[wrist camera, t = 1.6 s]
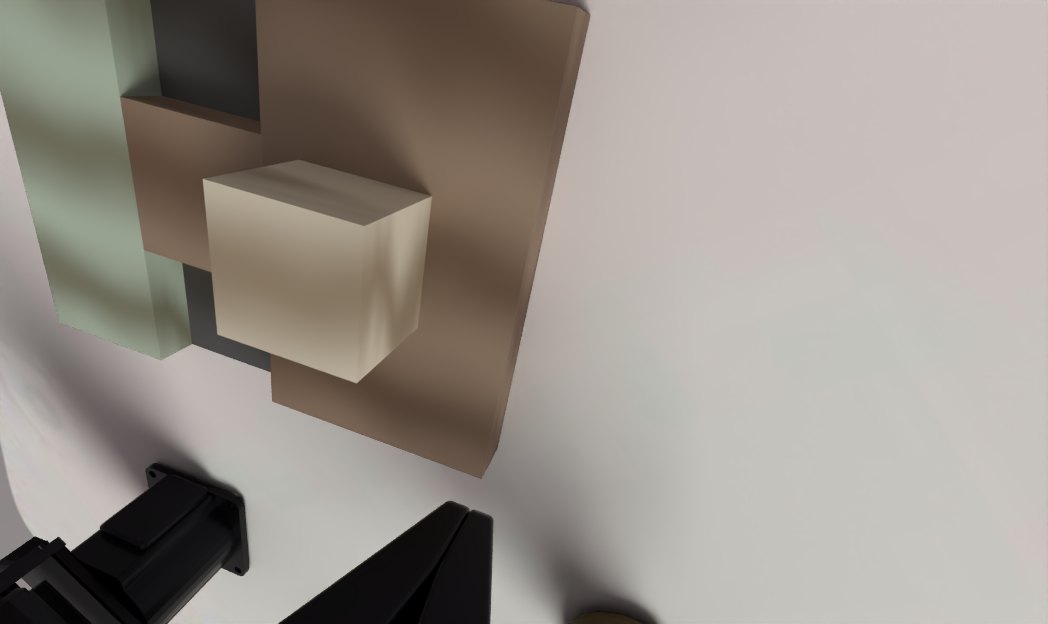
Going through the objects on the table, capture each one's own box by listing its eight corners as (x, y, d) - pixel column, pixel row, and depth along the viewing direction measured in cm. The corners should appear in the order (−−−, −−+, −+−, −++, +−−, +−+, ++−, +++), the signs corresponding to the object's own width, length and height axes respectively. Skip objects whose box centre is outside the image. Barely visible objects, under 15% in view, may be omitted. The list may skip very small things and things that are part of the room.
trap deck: (497, 448, 23) (481, 478, 21) (100, 306, 27) (59, 322, 25) (590, 15, 15) (577, 6, 14) (16, -98, 19) (-53, -117, 17)
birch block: (417, 327, 19) (356, 383, 16) (300, 290, 20) (217, 334, 16) (431, 196, 17) (364, 226, 13) (299, 159, 18) (202, 178, 14)
